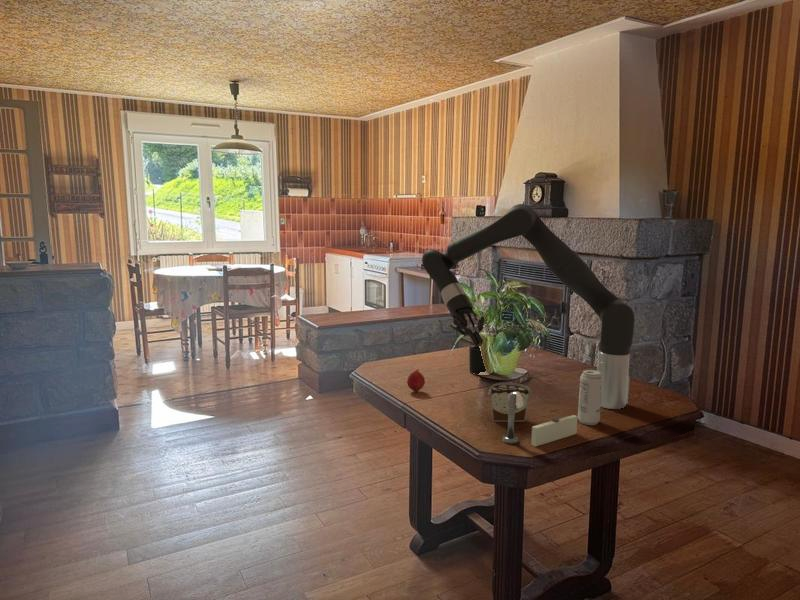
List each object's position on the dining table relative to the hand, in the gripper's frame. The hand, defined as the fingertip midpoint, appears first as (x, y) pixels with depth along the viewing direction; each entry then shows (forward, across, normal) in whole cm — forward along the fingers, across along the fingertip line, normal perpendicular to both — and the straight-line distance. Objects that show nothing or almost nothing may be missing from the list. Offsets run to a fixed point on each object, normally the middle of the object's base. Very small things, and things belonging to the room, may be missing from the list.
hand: (479, 344), depth 169 cm
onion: (0, -10, +28) cm, 30 cm away
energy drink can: (+34, +18, -6) cm, 38 cm away
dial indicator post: (+32, -11, -5) cm, 34 cm away
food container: (+23, 0, +5) cm, 23 cm away
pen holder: (-5, +24, +32) cm, 41 cm away
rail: (+36, 0, -8) cm, 37 cm away
